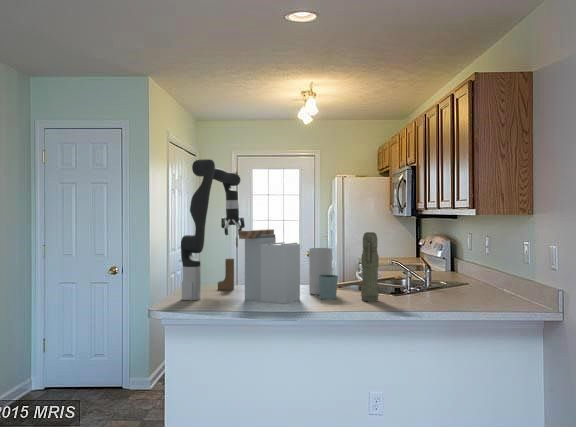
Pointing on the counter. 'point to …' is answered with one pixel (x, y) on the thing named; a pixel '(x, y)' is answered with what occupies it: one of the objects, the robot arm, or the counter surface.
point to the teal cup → (328, 286)
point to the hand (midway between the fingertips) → (233, 235)
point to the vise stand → (272, 270)
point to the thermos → (369, 267)
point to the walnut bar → (254, 233)
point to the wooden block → (228, 276)
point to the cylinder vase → (318, 267)
